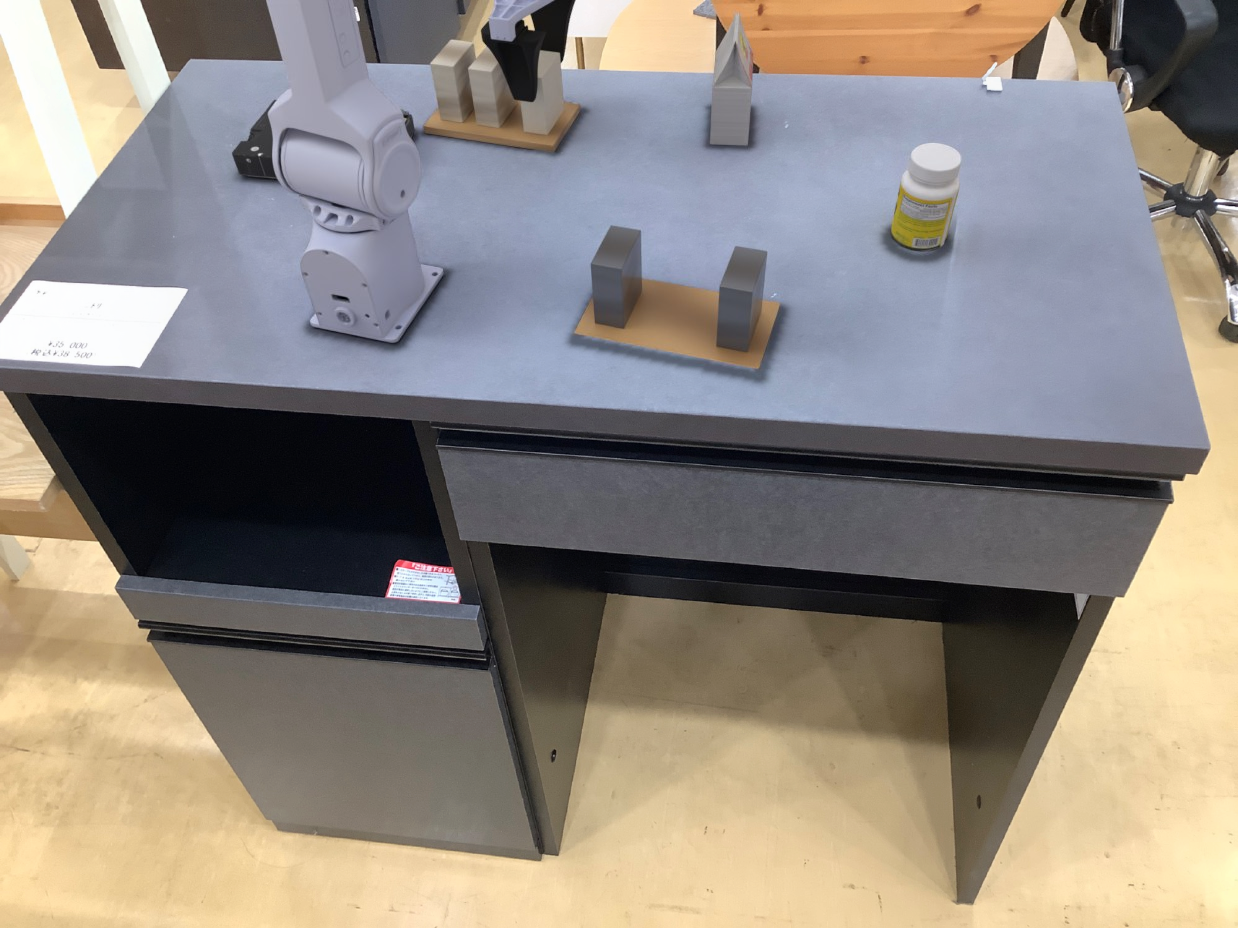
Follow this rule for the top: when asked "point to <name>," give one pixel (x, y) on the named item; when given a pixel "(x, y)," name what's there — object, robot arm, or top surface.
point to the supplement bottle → (927, 197)
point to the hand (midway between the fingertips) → (539, 79)
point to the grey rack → (679, 305)
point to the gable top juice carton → (732, 88)
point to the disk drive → (258, 148)
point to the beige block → (545, 96)
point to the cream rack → (484, 102)
